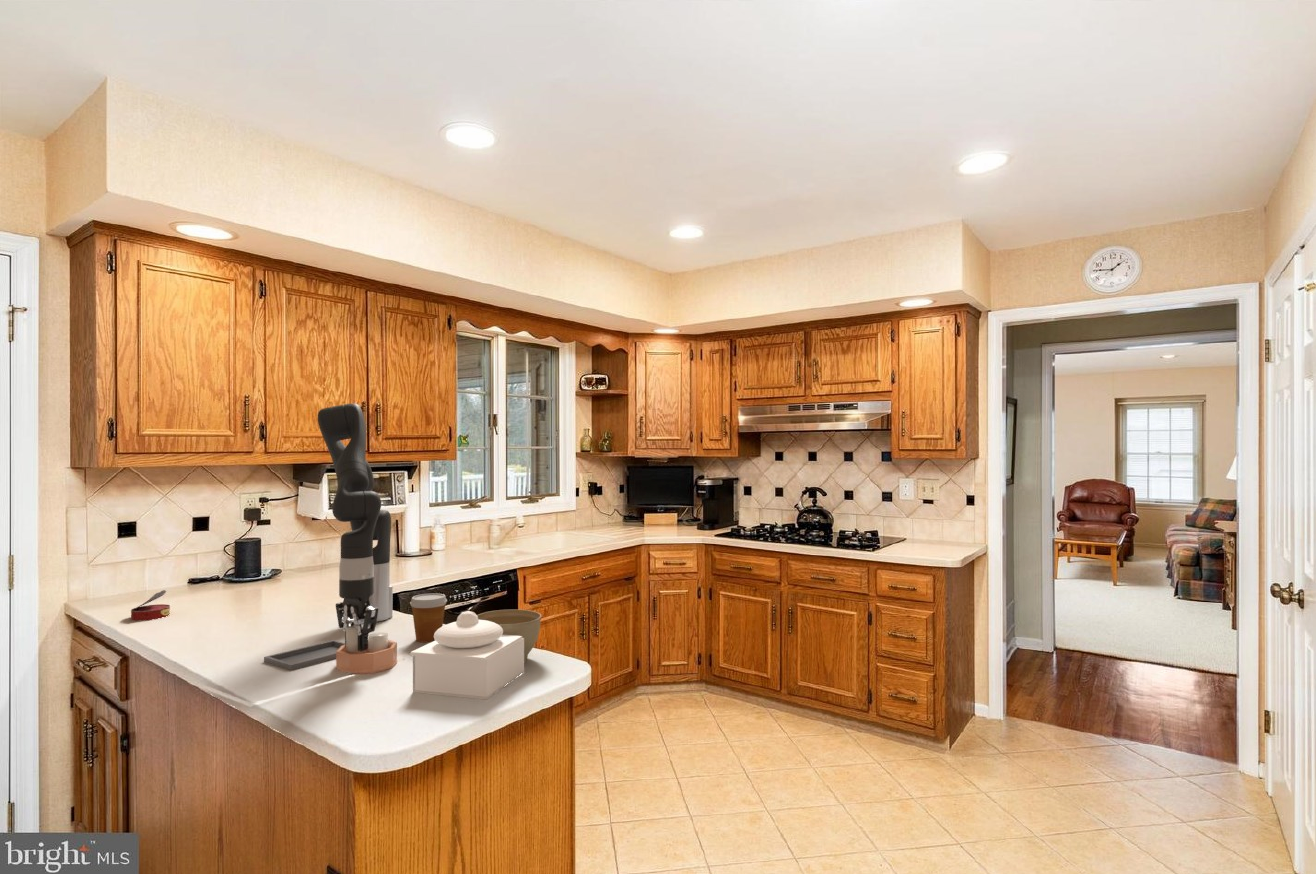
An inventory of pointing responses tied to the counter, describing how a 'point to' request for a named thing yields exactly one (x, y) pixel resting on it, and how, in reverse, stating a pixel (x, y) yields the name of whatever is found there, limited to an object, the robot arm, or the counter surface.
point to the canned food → (151, 609)
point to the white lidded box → (468, 659)
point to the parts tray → (305, 655)
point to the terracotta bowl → (367, 660)
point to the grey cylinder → (352, 640)
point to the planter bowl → (517, 625)
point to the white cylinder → (377, 642)
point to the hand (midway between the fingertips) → (356, 648)
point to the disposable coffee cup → (427, 615)
